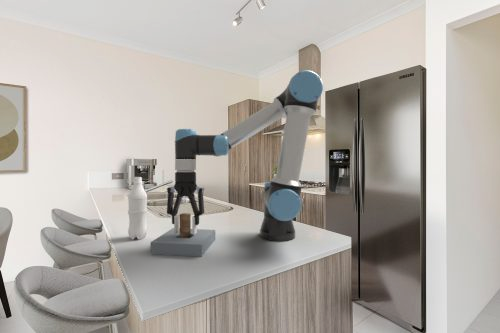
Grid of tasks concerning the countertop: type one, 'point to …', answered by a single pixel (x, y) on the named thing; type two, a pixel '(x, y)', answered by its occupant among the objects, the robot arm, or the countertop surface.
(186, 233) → the peg
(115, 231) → the countertop surface
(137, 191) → the water bottle
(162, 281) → the countertop surface
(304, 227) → the countertop surface
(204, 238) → the socket board
